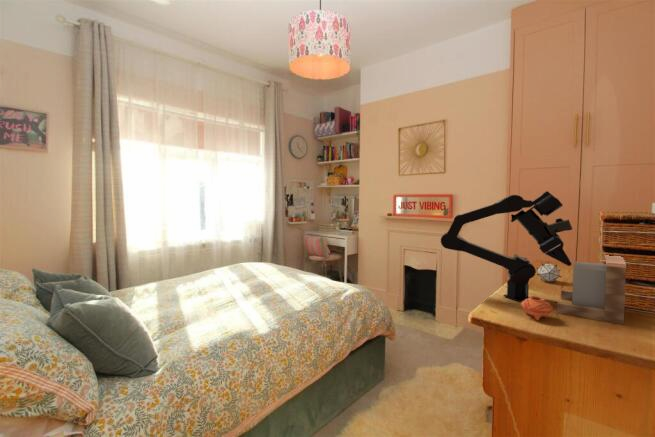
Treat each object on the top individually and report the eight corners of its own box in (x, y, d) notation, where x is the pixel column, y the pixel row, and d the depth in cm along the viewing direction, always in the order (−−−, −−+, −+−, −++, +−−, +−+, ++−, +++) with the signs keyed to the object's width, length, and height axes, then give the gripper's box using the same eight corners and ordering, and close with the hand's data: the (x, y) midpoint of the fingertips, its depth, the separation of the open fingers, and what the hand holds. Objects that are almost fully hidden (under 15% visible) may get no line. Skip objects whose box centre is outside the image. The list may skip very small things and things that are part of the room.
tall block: (571, 312, 98) (573, 267, 97) (573, 302, 106) (574, 261, 105) (610, 318, 92) (612, 271, 91) (609, 308, 100) (611, 264, 100)
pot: (538, 310, 99) (543, 291, 97) (555, 326, 91) (561, 306, 89) (513, 310, 99) (517, 291, 97) (528, 326, 91) (533, 305, 89)
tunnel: (557, 312, 97) (558, 258, 96) (561, 297, 111) (562, 250, 110) (623, 324, 88) (626, 264, 87) (619, 306, 102) (621, 254, 100)
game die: (554, 291, 131) (571, 275, 125) (534, 284, 131) (551, 268, 125) (546, 276, 138) (562, 260, 132) (527, 269, 138) (543, 253, 132)
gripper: (558, 211, 97) (599, 252, 92) (555, 209, 112) (590, 245, 107) (524, 232, 102) (561, 273, 97) (526, 228, 117) (558, 263, 112)
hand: (569, 262), depth 103 cm, fingers open, 9 cm apart
